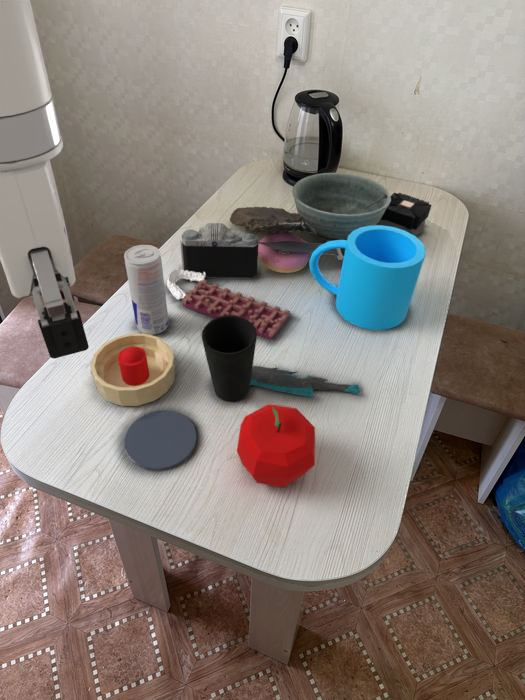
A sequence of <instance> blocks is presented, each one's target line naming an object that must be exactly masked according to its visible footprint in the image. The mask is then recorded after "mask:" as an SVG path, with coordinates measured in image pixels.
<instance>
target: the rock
mask: <svg viewBox="0 0 525 700" xmlns="http://www.w3.org/2000/svg"><path fill="white" fill-rule="evenodd" d="M229 222H230V223H231V224H232V225H234V226H237V227H241V228H242V229H244V230H249V231H250V230H251V231H255V232H261V231H264V232H272V233H273V232H277V233H280V234H286V233H289V232H290V233H291V232H298V231H299V232H301V233H311V234H313V235H315V234H316V231H315V228H313V227H312V224H311V223H309V222H308V220H307V219H305V218H304V217H303V216H301V214H299V213H298V212H289V211H287V210H286V209H284V208H281V207H280V208H278V207H271V206H270V207H267V206H261V207H260V206H247V207H237V208H235V209H234V210H232V213H231V215H230V217H229Z"/></svg>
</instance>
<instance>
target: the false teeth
mask: <svg viewBox="0 0 525 700" xmlns="http://www.w3.org/2000/svg"><path fill="white" fill-rule="evenodd" d="M205 276H206V275H205V272H204V274H202V273H200V272H197V273H196V272H193V271H190V272H189V271H188V270H186V271H185V270H183V269H181V268H178V267H177V269H173V270H171V271H170V273H169V274H168V278H167V280H166V286H167V290H169V291H170V293H171V295H172V296H173V297H174V298H175V299H176V300H180V299H181V300H183V299H184V298H185V297H186V296H188V295H189V294H187V293H186V292H185V291H184V290H183V289H181V288H180V286H179V285H177V284H176V283H177V282H178V281H179V280H180V279H184V280H189V282H191V283H192V282H193V281H194V282H199V281H203V280H205V279H206V278H205Z"/></svg>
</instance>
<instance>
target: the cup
mask: <svg viewBox="0 0 525 700" xmlns="http://www.w3.org/2000/svg"><path fill="white" fill-rule="evenodd" d="M257 338H258V335H257V332H256V328H255V327H254V325H253V324H252V323H251V322H250V321H248V320H246V319H245V318H242V317H239V316H232V315H228V316H221V317H218V318H213V319H211V320H210V321H208V322H207V323H206V325H205V326H204V327H203V329H202V331H201V342H202V346H203V349H204V354H205V358H206V362H207V367H208V371H209V374H210V378H211V383H212V387H213V391H214V394H215V396H216V397H217V398H218V399H220V400H222V401H224V402H229V403H234V402H239V401H240V400H243V399H244V398H246V397H247V395H248V394H249V392H250V389H251V385H250V382H251V375H252V368H253V366H254V360H255V353H256V346H257Z"/></svg>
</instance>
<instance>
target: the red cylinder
mask: <svg viewBox="0 0 525 700" xmlns="http://www.w3.org/2000/svg"><path fill="white" fill-rule="evenodd" d="M118 362H119V366H120V371H121V375H122V380H123V381H124V382H125V383H126V384H128V385H132V386H136V385H140V384H143V383H144V382H146V381H147V380H148V378H149V369H148V363H147V356H146V352H145V351H144V350H143V349H142V348H140V347H128V348H125V349H123V350H122V351H121V352H120V353H119V355H118Z"/></svg>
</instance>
